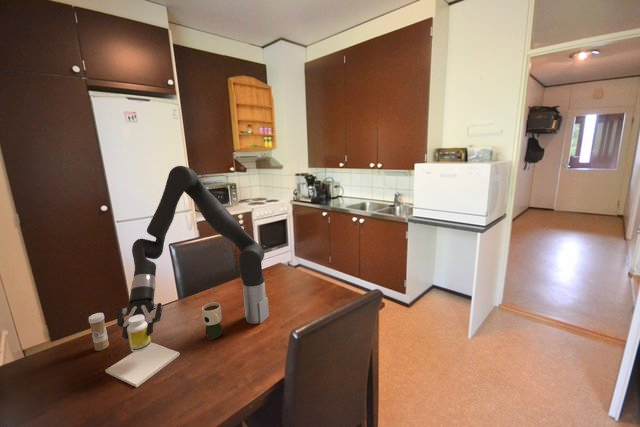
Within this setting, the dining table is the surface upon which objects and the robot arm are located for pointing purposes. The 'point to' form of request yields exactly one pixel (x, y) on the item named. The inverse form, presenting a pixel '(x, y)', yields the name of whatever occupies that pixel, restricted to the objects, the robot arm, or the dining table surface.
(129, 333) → the pill bottle
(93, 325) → the sprinkles bottle
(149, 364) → the ceramic tile
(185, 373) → the dining table surface
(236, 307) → the dining table surface
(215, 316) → the character mug
